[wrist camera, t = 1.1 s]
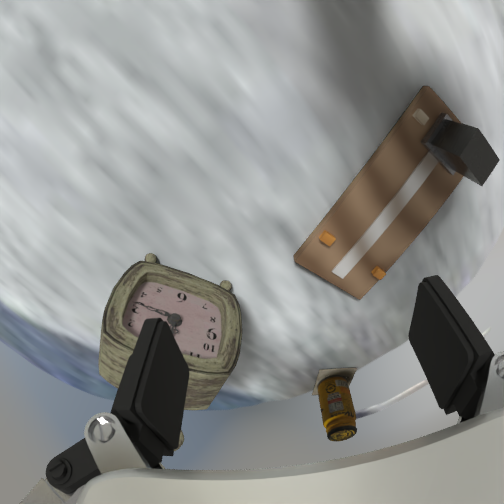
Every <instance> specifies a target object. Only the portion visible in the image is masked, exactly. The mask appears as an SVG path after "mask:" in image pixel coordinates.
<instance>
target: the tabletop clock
mask: <svg viewBox="0 0 504 504" xmlns="http://www.w3.org/2000/svg"><path fill="white" fill-rule="evenodd" d="M231 287H232V286H231V283H230V282H229V281H226V280H225V281H222V282H221V283H220V286H219V285H216V284H214V283H212V282H209V281H207V280H204V279H202V278H199V277H197V276H194V275H192V274H189V273H186V272H183V271H180V270H177V269H174V268H170V267H167V266H164V265H161V264H157V263H156V256H155V255H154V254H152V253H149V254H147V255H146V256H145V261H139V262H137V263H135V264H134V265H132V266H131V267H130V268H129V269H128V270H127V271H126V272H125V273H124V274H123V276H122V277H121V278H120V280H119V281H118V282H117V284H116V285H115V287H114V288H113V291H112V293H111V295H110V297H109V300H108V302H107V305H106V307H105V311H104V315H103V320H102V329H101V339H100V351H99V373H100V375H101V376H102V377H103V378H104V379H105V380H107V381H108V382H109V383H110V384H112V385H113V386H115V387H116V388H119V385H120V382H121V379H122V376H123V373H124V370H125V367H126V364H127V361H128V359H129V357H130V355H131V354H133V351H134V348H135V345H136V342H137V340H138V337H139V334H140V331H141V329H142V326H143V323H144V321H145V319H150V318H161V319H162V320H163V321H166V322H167V323H168V325H169V327H170V329H171V331H172V333H173V336H174V338H175V340H176V342H177V344H178V346H179V348H180V350H181V352H182V355H183V357H184V359H185V361H186V363H187V365H188V367H189V381H188V387H187V393H186V399H185V406H184V410H203V409H207V408H208V407H209V405H210V404H211V402H212V401H213V399H214V398H215V396H216V395H217V393H218V392H219V390H220V389H221V387H222V386H223V384H224V383H225V381H226V380H227V378H228V377H229V375H230V374H231V372H232V371H233V369H234V368H235V366H236V364H237V361H238V357H239V354H240V347H241V339H242V321H241V311H240V307H239V303H238V301H237V299H236V297H235V295H234V294H233V293H231V292H230V289H231ZM183 442H184V435H183V433H182V431H181V432H180V439H179V446H178V448H177V449H174V451H176V450H178V449H179V448H180V447H181V445H182V444H183Z"/></svg>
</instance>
